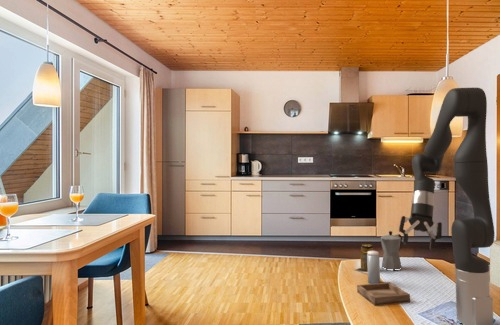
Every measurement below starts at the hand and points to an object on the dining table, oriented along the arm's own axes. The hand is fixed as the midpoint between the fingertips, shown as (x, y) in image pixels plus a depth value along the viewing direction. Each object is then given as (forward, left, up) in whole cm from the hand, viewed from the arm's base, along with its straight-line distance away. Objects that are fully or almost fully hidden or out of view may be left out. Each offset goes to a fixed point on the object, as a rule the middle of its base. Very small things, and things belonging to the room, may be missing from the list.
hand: (418, 247), depth 133 cm
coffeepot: (+41, -14, -20) cm, 48 cm away
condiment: (+41, +1, -20) cm, 46 cm away
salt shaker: (+24, +5, -20) cm, 32 cm away
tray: (+8, +10, -20) cm, 24 cm away
